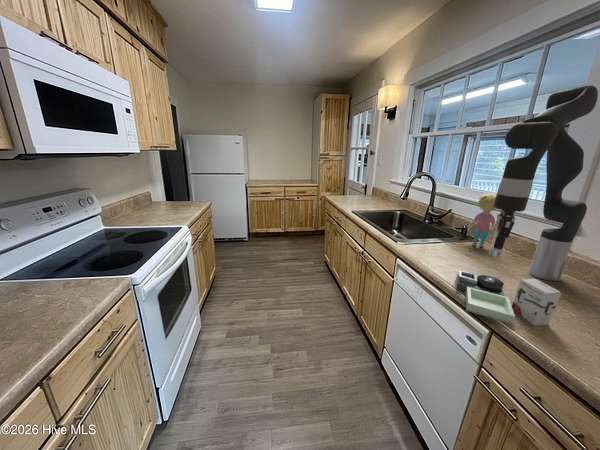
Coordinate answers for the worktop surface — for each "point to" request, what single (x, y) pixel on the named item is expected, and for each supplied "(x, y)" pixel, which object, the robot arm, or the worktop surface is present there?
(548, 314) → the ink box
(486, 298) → the tray
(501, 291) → the tensioner block
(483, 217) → the toy
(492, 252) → the pin
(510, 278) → the worktop surface
